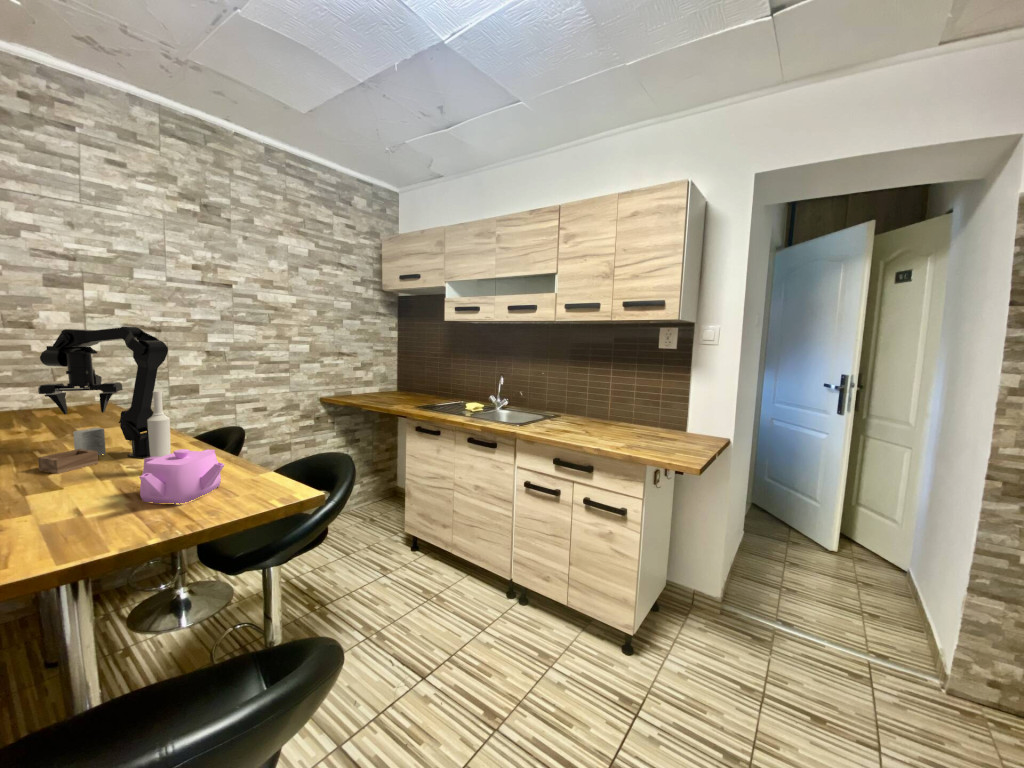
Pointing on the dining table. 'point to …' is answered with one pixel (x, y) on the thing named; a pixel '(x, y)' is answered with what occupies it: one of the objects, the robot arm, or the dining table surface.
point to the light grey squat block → (90, 440)
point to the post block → (67, 461)
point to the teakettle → (180, 476)
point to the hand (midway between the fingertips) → (84, 413)
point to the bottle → (159, 429)
